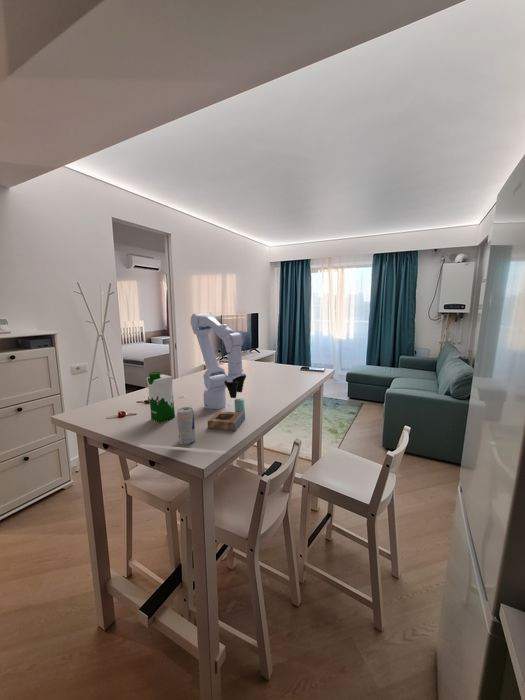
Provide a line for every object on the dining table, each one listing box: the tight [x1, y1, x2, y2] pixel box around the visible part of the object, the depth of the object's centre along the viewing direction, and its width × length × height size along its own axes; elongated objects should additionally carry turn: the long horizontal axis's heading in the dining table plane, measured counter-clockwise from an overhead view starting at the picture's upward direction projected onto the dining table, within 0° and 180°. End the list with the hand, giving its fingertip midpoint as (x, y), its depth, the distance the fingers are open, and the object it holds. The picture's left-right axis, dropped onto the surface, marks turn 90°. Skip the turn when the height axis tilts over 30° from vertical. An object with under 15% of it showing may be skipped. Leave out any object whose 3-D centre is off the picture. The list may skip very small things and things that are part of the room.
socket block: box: [207, 410, 241, 431], centre depth 116 cm, size 10×10×3 cm
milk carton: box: [145, 371, 176, 424], centre depth 124 cm, size 9×9×20 cm
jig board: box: [232, 411, 246, 433], centre depth 117 cm, size 20×12×4 cm, turn 76°
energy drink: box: [176, 406, 197, 446], centre depth 102 cm, size 5×5×12 cm
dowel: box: [234, 397, 246, 413], centre depth 126 cm, size 4×4×7 cm
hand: (236, 394), depth 124 cm, fingers open, 7 cm apart
